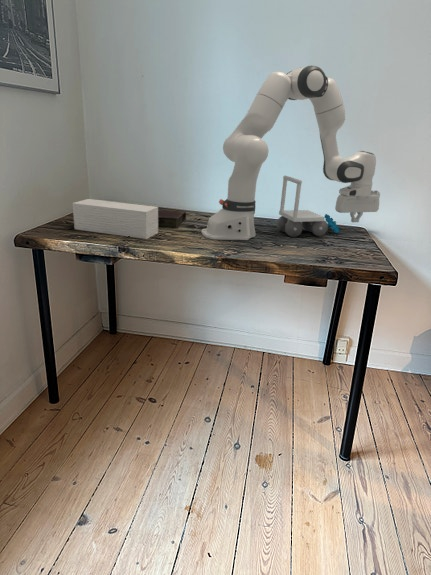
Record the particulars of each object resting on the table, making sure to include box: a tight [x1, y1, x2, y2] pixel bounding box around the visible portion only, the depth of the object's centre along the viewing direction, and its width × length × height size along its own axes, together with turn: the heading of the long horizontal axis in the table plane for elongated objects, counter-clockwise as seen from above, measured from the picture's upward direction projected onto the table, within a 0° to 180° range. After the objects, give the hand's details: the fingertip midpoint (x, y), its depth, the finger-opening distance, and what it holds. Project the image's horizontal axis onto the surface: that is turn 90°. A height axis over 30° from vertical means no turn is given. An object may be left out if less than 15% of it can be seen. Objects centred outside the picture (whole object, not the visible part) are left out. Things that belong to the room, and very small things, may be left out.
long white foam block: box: [72, 198, 159, 240], centre depth 165 cm, size 32×11×11 cm, turn 73°
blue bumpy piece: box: [323, 213, 340, 234], centre depth 182 cm, size 11×6×10 cm
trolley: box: [276, 175, 329, 238], centre depth 173 cm, size 19×14×23 cm
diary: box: [158, 208, 187, 230], centre depth 183 cm, size 19×25×5 cm
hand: (354, 222), depth 183 cm, fingers closed
